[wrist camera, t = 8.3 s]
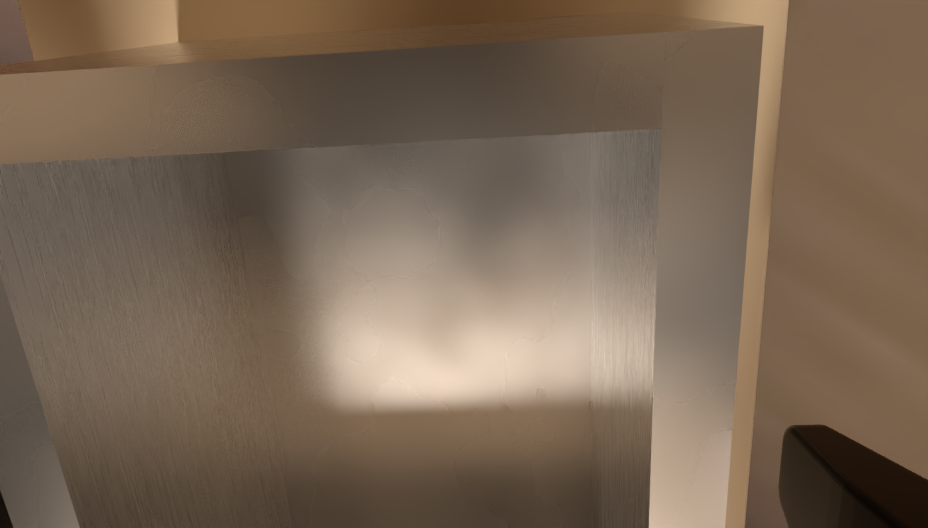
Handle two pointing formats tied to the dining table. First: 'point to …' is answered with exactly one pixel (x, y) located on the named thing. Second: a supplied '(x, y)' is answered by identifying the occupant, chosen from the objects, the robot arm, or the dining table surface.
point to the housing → (378, 277)
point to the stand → (437, 3)
